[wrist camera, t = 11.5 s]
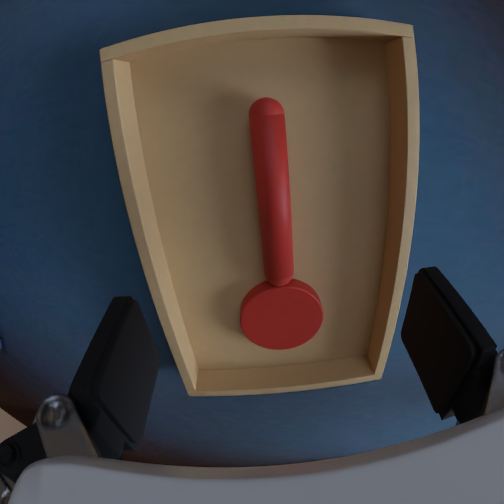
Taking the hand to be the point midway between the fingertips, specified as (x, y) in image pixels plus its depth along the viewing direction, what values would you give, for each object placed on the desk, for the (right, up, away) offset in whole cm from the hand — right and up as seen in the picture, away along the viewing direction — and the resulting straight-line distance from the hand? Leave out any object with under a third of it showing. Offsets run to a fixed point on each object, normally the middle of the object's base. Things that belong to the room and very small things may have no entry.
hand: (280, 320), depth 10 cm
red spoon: (0, +3, +5) cm, 6 cm away
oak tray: (0, +3, +5) cm, 6 cm away
